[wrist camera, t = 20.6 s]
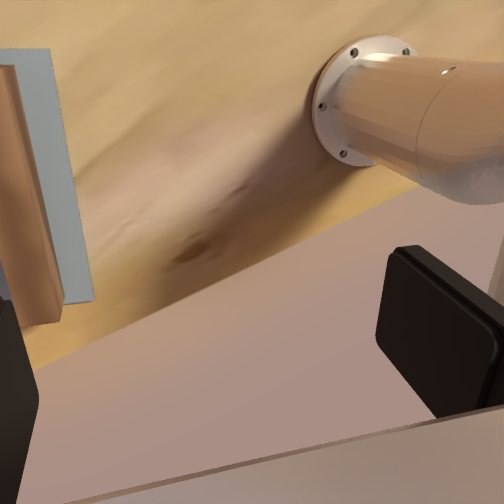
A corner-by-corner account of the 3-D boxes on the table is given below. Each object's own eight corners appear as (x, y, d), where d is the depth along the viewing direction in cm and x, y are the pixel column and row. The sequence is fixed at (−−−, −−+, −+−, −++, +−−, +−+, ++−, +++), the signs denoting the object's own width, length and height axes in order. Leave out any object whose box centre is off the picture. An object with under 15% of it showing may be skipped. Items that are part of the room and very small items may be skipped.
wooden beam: (14, 64, 35) (0, 68, 31) (64, 296, 45) (59, 322, 41) (-34, 64, 34) (-54, 68, 30) (28, 301, 44) (19, 327, 40)
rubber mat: (49, 48, 35) (48, 49, 35) (94, 297, 46) (94, 300, 46) (-77, 48, 33) (-80, 48, 33) (1, 309, 44) (0, 312, 44)
